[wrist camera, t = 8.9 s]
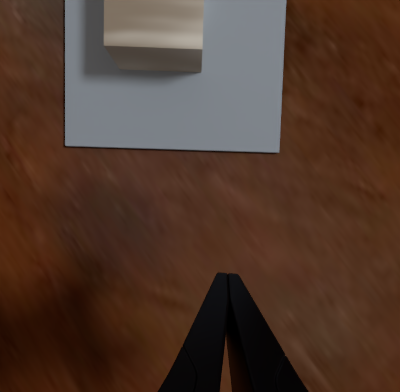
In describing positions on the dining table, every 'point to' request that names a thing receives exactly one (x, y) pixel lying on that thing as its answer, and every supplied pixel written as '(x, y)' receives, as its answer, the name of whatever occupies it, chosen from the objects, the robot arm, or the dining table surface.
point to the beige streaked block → (155, 34)
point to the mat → (179, 84)
